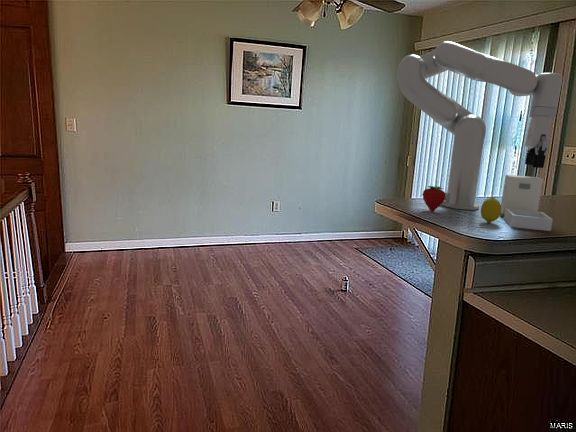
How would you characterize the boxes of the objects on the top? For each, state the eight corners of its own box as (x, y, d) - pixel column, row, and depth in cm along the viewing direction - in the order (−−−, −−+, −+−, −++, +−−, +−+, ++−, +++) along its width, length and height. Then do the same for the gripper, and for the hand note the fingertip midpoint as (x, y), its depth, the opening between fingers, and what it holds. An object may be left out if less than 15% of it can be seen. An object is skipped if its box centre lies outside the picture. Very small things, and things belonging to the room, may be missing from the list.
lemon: (475, 220, 141) (479, 194, 139) (493, 221, 142) (497, 195, 140) (484, 225, 136) (488, 198, 134) (502, 225, 136) (506, 199, 134)
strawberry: (425, 208, 156) (429, 178, 154) (446, 212, 152) (450, 182, 149) (417, 210, 152) (420, 180, 150) (438, 214, 147) (442, 183, 145)
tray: (510, 226, 135) (512, 215, 134) (503, 219, 145) (505, 208, 144) (550, 231, 133) (552, 219, 132) (540, 223, 143) (542, 212, 142)
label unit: (501, 217, 148) (507, 176, 145) (497, 213, 155) (503, 174, 152) (538, 221, 146) (546, 179, 143) (532, 216, 152) (539, 177, 150)
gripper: (524, 112, 158) (515, 162, 162) (537, 112, 141) (527, 167, 145) (548, 114, 156) (539, 164, 160) (564, 113, 140) (554, 169, 143)
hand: (533, 166), depth 152 cm, fingers open, 9 cm apart
